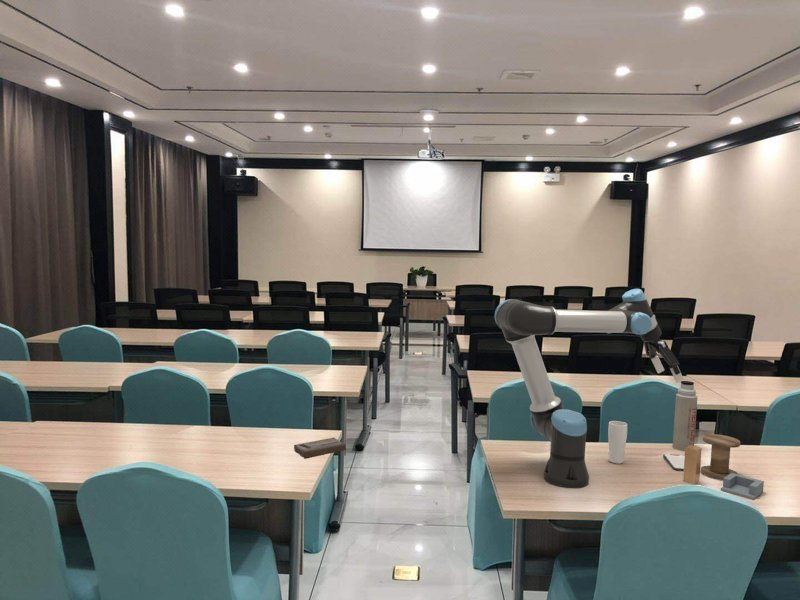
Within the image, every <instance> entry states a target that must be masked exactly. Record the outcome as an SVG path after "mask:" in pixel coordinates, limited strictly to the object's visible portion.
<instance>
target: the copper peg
mask: <svg viewBox="0 0 800 600" xmlns="http://www.w3.org/2000/svg"><path fill="white" fill-rule="evenodd" d="M684 456H685V459H684V471H683V474H682V475H683V477H682V481H683V482H686V483H689V484H692V485H696V484H698V483H700V476H701V462H702V447H698V446H695V445H694V446H691V445H689V446H687V447H685V451H684Z"/></svg>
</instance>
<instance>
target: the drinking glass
mask: <svg viewBox="0 0 800 600" xmlns="http://www.w3.org/2000/svg"><path fill="white" fill-rule="evenodd" d="M607 431H608V432H607V433H608V434H607V437H608V439H607V441H608V461H609V462H610V463H612V464H617V465H619V464H620V465H621V464H623V463H624V461H625V459H624V457H625V451H626V443H627V438H628V437H627V436H628V423H627V422H624V421H620V420H611V421H609V422H608V430H607Z"/></svg>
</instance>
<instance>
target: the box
mask: <svg viewBox="0 0 800 600" xmlns="http://www.w3.org/2000/svg"><path fill="white" fill-rule="evenodd" d="M346 446H347V445H346V444H345V443H344V442H342V441H340V440H339V439H337V438H335V437H329V438H325V439H324V438H323V439H319V440H318V439H317V440H315V441H307V442H302V443H296V444H294V445H293V451H294V452H295V453H296V454H298V455H299V456H300V457H302V458H303V459H304V460H307V459H311V458H315V457H320V456H325V455H329V454H333V453H339V452H344V451H347V447H346Z"/></svg>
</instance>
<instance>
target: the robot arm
mask: <svg viewBox="0 0 800 600" xmlns="http://www.w3.org/2000/svg"><path fill="white" fill-rule="evenodd" d="M621 299H622V302H621V303H618V305H615V306H614V307H612V308H610V309H608V310H588V309H587V310H583V309H581V310H578V309H556V308H555V307H554V306H552V305H551V306H547V305H546V306H544V305H539V304H535V303H532V302H528V301H522V300H520V299H516V298H515V299H514V298H513V299H512V298H511V299H506V300H503V301H502V302H501V303H499V304H498V306H497V307H496V308H495V311H494V320H495V321H494V322H495V323H496V326H498V328H499V329H501V331H502V333H503V337H504V339H505V342H507V343H509V344H510V345H511V346H512V350H513V352H514V354H515V357H516V358H515V359H516V361H517V364H518V366H519V369H520V372H521V375H522V378H523V380H524V384H525V386H526V389H527V392H528V396H529V398H530V401H531V404H530V406H529V411H530V416H529V417H530V418H529V419H530V423H531V426H532V428H533V429H534V430H535V432H537V433H538V434H539V435H541V436H542V437H544V438H545V439H546V440H548V441H549V442H550V448H549V449H550V450H549V458H548V461H547V463H546V465H545V468H544V471H543V479H544V480H545V481H546V482H548V483H549V484H551V485H555V486H558V487H561V488H571V489H573V488H574V489H576V488H577V489H578V488H584V487H586V486H588V485H589V483H590V475H589V471H588V467H587V463H586V459H585V457H586V442H587V431H588V425H587V419H586V417H585V416H584V415H583V414H582V413H581V412H578V411H574V410H572V409H567V408H566V409H564V405H563V402H562V400H561V398H560V397H558V396H556V395H555V392H554V389H553V387H552V383H551V381H550V377H549V374H548V372H547V369H546V366H545V364H544V363H545V362H544V361H543V357H542V354H541V351H540V349H539V346H538V343H537V341H536V337H535V336H539V335H540V336H541V335H546V336H547V335H553V334H554V333H555V332H558V333H559V332H561V333H606V334H608V335H609V334H612V333H617V334H618V333H619V334H620V333H621V334H634V335H638V336H639V337H640V339H641V340H642V342H643V345H644V351H645V355H646V356H647V357H649V358H650V360H651V362H652V364H653V366H654V368H655V371H656V372H657V374H660V373H662V372H664V371H665V368H664V366H663V364H662V361H661V359H660V358H659V356H658V355H660V356H661V358H663V359H664V361H665V362H666V363H667V365H668V366H669V367H668V369H669V370H670V372H671V374H672V377H673V379H674V381H675V382H676V384H678V383H681V381H685V379H684V377H683V375H682V372H681V370H680V368H679V365H680V361H679V360H678V359H677V357H676V355H674V353H673V351H672V350H671V349H670V347H669V345H668V344H667V342H666V340H663V341H662V339H661V336H662V333H663V332H662V329H661V328H660V325H659V324H658V322H657V319H656V315H655V314H654V312H653V311H652V308H651V306H650V304H649V301H648V297H646V295H645V293H644V292H643V290H642V289H640V288H633V289H630V290H628V291H626V292H624V294H623V295H622V296H621Z"/></svg>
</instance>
